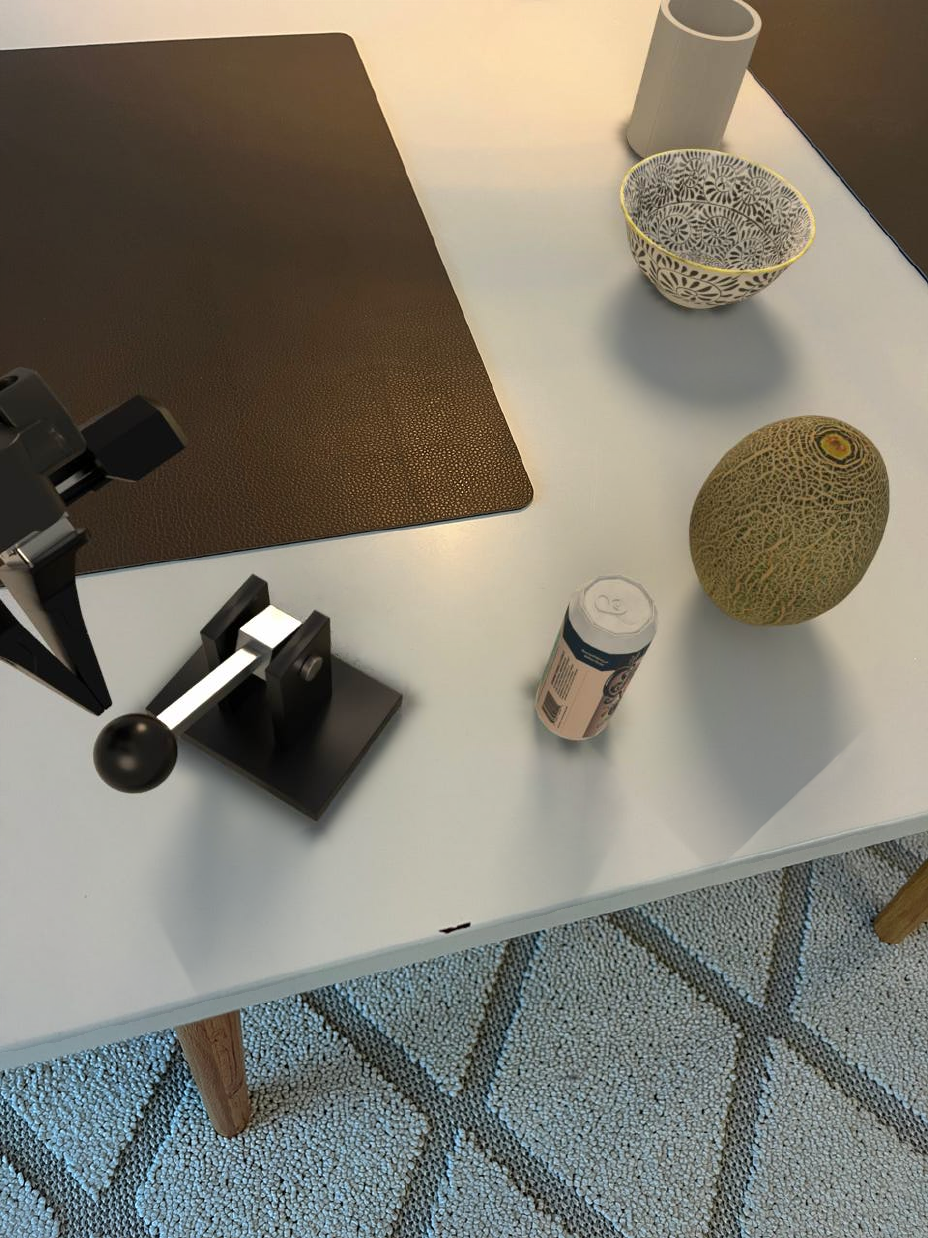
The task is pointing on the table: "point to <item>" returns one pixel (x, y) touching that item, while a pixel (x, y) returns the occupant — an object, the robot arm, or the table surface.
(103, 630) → the table surface
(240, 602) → the lever base
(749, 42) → the cup
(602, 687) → the beer can
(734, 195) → the bowl
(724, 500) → the fruit
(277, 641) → the ball knob lever
